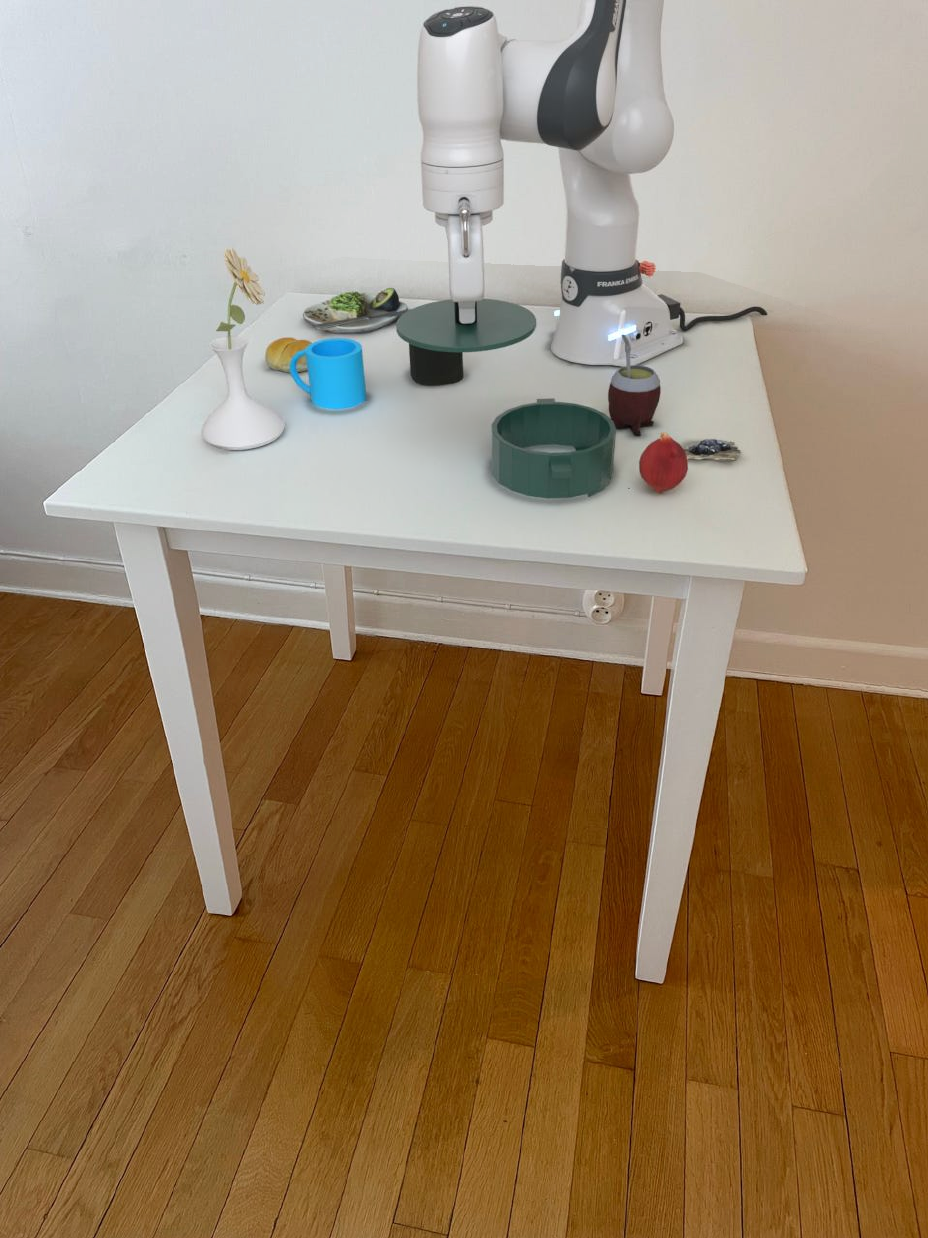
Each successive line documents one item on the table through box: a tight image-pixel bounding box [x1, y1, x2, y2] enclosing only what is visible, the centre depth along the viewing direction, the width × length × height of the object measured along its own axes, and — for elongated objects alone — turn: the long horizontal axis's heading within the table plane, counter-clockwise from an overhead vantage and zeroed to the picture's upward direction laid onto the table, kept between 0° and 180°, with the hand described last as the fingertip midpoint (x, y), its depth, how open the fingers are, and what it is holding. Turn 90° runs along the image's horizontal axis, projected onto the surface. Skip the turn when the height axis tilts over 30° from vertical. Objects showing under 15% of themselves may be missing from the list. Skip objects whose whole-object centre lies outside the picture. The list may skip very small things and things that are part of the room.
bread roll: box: [264, 337, 313, 373], centre depth 153 cm, size 8×9×4 cm
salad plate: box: [302, 287, 412, 334], centre depth 169 cm, size 19×18×5 cm
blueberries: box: [682, 438, 742, 463], centre depth 125 cm, size 7×8×2 cm
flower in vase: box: [200, 246, 286, 451], centre depth 126 cm, size 13×11×25 cm
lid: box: [395, 298, 537, 353], centre depth 110 cm, size 16×16×5 cm
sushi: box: [408, 343, 464, 387], centre depth 147 cm, size 8×8×8 cm
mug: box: [289, 337, 367, 410], centre depth 140 cm, size 12×8×8 cm
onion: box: [638, 431, 689, 494], centre depth 116 cm, size 6×6×8 cm
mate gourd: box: [607, 334, 662, 437], centre depth 128 cm, size 8×8×15 cm
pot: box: [491, 397, 617, 499], centre depth 121 cm, size 15×21×6 cm
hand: (466, 315), depth 111 cm, fingers closed on lid, 2 cm apart
